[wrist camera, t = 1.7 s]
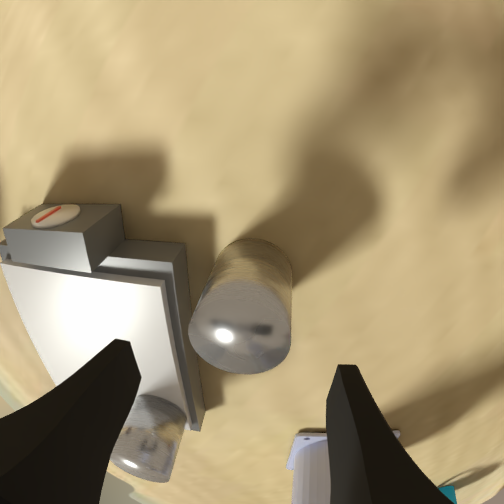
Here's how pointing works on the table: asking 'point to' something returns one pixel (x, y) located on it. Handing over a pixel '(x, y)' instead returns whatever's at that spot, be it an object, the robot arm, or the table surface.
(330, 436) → the robot arm
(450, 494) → the mug
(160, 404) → the cylinder
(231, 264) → the cylinder
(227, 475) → the table surface
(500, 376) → the table surface
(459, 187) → the table surface
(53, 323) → the scale
